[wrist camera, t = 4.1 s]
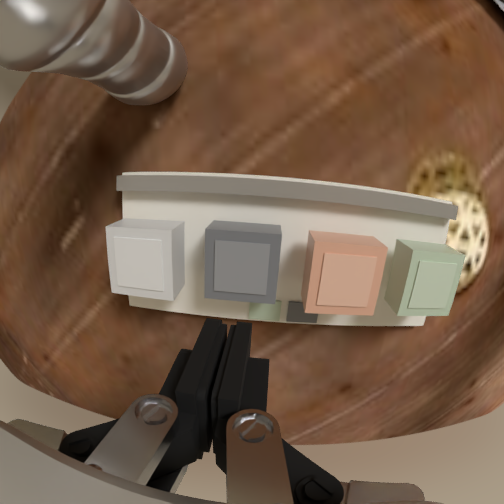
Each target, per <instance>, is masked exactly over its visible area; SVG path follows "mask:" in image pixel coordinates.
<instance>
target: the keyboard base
mask: <svg viewBox="0 0 504 504" xmlns="http://www.w3.org/2000/svg"><path fill="white" fill-rule="evenodd" d="M117 191H122V207H123V219H124V218H132V219H153V220H171V221H185V224H184V257H185V285H184V286H183V288H182V289H181V291H180V292H179V294H178V295H177V297H176V298H175V300H174V301H168V300H161V299H153V298H146V297H138V296H131V295H128V296H129V304H130V306H136V307H143V308H149V309H156V310H164V311H171V312H179V313H187V314H195V315H204V316H213V317H223V318H233V319H244V320H255V321H268V322H283V323H299V324H319V325H347V326H423V324H424V321H425V318H426V316H397V315H396V314H395V312H394V311H393V310H392V308H391V307H390V306H389V304H388V303H387V302H386V300H385V299H384V296H385V292H386V288H387V284H388V279H389V275H390V270H391V265H392V260H393V255H394V250H395V245H396V239H403V240H412V241H421V242H429V243H438V244H445V242H446V237H447V232H448V226H449V220H450V219H453V220H456V217H457V210H458V206H456V205H453V204H452V202H450V201H447V200H442V199H437V198H432V197H427V196H421V195H416V194H410V193H405V192H399V191H392V190H386V189H380V188H373V187H366V186H359V185H351V184H344V183H335V182H327V181H318V180H308V179H298V178H287V177H275V176H262V175H246V174H228V173H202V172H124V173H122V175H119V176H117ZM213 220H217V221H232V222H247V223H260V224H273V225H281V231H282V241H281V251H280V262H279V272H278V282H277V291H276V301H275V304H265V303H252V302H240V301H229V300H219V299H209V298H204V275H205V229H206V228H207V227H208V226H209V225H210V224H211V223H212V221H213ZM309 230H312V231H323V232H334V233H344V234H355V235H365V236H374V237H375V238H376V239H378V240H379V241H380V242H382V243H383V244H384V245H385V246H387V247H388V251H387V256H386V261H385V266H384V271H383V276H382V280H381V285H380V289H379V294H378V298H377V302H376V306H375V310H374V314H373V316H369V315H338V314H316V313H305V312H304V307H303V302H302V297H301V289H302V282H303V274H304V266H305V258H306V250H307V242H308V233H309Z"/></svg>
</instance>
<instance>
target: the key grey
mask: <svg viewBox="0 0 504 504" xmlns="http://www.w3.org/2000/svg"><path fill="white" fill-rule="evenodd" d="M184 224H185V221H171V220H153V219H132V218H124V219H122V220H119V221H117V222H115V223H112V224H110V225H108V226H106V240H107V253H108V264H109V273H110V282H111V290H112V293H118V294H125V295H131V296H138V297H146V298H153V299H161V300H168V301H174V300H175V298H176V297H177V295H178V294H179V292H180V291H181V289H182V288H183V286H184V285H185V257H184Z"/></svg>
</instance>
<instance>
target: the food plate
mask: <svg viewBox="0 0 504 504" xmlns="http://www.w3.org/2000/svg"><path fill="white" fill-rule="evenodd" d="M493 1H495V2H496V4H498V5H499V7H500V8H501V10H503V11H504V0H493Z"/></svg>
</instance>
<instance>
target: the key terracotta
mask: <svg viewBox="0 0 504 504" xmlns="http://www.w3.org/2000/svg"><path fill="white" fill-rule="evenodd" d="M387 251H388V247H387V246H385V245H384V244H383V243H382V242H380V241H379V240H378V239H376V238H375V237H374V236H365V235H355V234H344V233H334V232H323V231H312V230H309V233H308V242H307V250H306V258H305V266H304V274H303V282H302V289H301V297H302V302H303V307H304V312H305V313H316V314H338V315H369V316H373V314H374V310H375V306H376V302H377V298H378V294H379V289H380V285H381V280H382V276H383V271H384V266H385V261H386V256H387Z"/></svg>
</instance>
